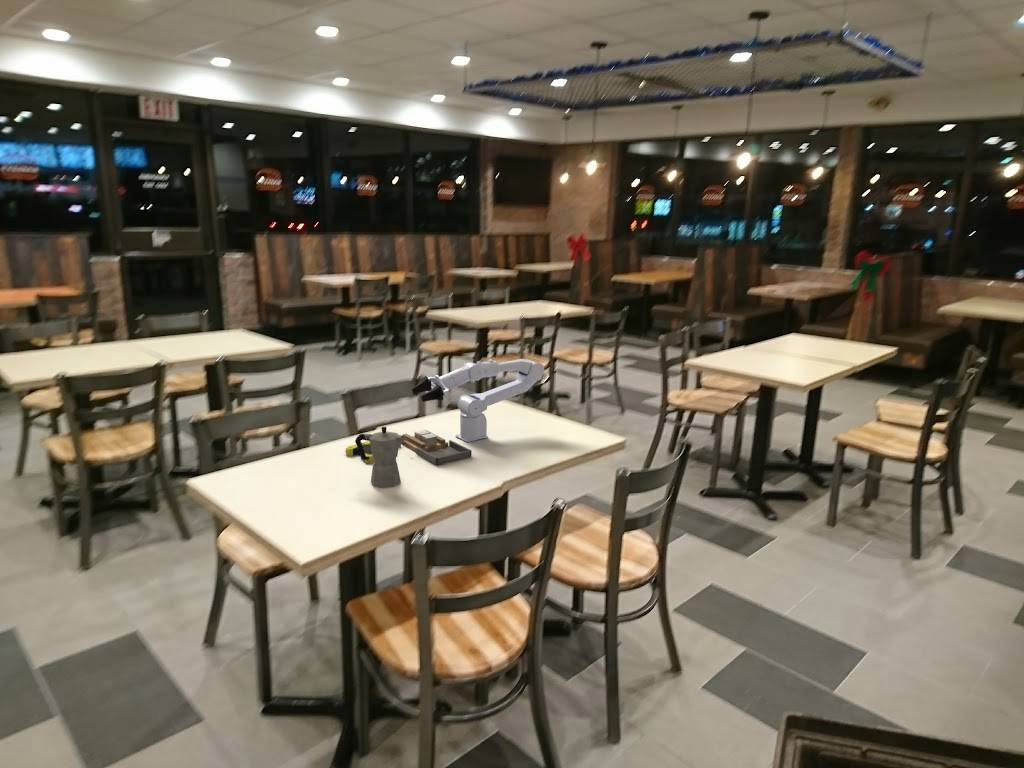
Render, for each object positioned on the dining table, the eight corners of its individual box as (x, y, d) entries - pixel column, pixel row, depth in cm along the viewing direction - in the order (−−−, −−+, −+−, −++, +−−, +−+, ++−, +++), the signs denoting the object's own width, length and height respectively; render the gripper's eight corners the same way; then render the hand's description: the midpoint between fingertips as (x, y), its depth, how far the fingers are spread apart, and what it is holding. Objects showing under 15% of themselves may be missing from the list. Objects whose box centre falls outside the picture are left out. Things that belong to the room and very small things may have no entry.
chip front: (431, 441, 239) (431, 433, 238) (437, 444, 236) (437, 436, 235) (421, 443, 236) (421, 435, 236) (427, 446, 233) (427, 438, 232)
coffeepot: (409, 477, 210) (408, 422, 205) (404, 488, 201) (403, 431, 196) (360, 476, 210) (358, 421, 205) (353, 488, 200) (351, 431, 196)
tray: (450, 446, 238) (450, 440, 238) (471, 457, 228) (471, 450, 227) (416, 454, 230) (416, 447, 229) (436, 465, 220) (436, 458, 219)
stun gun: (413, 445, 231) (389, 435, 242) (365, 458, 219) (342, 446, 229) (413, 453, 232) (389, 442, 243) (365, 466, 219) (342, 454, 230)
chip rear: (424, 437, 242) (424, 429, 242) (430, 440, 239) (429, 432, 239) (414, 439, 240) (414, 431, 239) (420, 442, 237) (420, 434, 236)
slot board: (428, 436, 248) (428, 429, 248) (448, 446, 237) (448, 439, 237) (399, 442, 241) (399, 434, 240) (418, 453, 230) (418, 445, 230)
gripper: (439, 364, 242) (406, 378, 237) (458, 377, 231) (423, 392, 225) (443, 381, 245) (410, 395, 240) (462, 394, 234) (428, 410, 229)
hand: (417, 395), depth 233 cm, fingers open, 7 cm apart
